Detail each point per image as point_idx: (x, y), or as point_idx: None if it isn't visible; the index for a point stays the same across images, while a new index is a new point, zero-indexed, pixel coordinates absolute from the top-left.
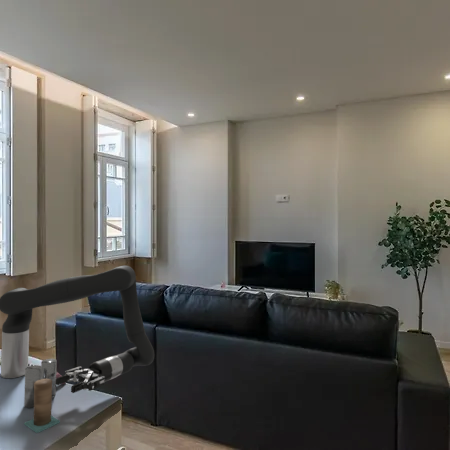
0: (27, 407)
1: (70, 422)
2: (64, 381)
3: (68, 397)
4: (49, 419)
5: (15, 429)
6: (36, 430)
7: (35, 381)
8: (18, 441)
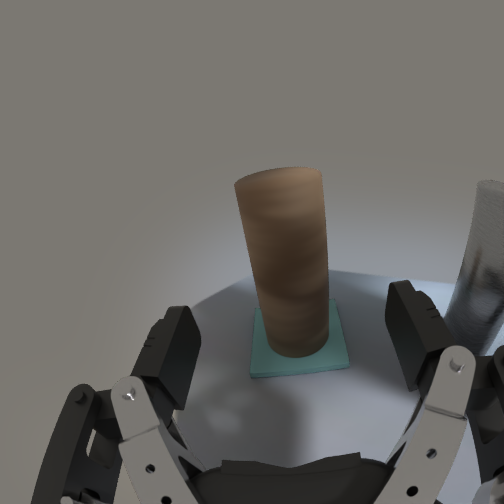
0: None
1: (215, 401)
2: (403, 361)
3: (447, 482)
4: (267, 336)
5: None
6: (260, 308)
7: (470, 251)
8: None
